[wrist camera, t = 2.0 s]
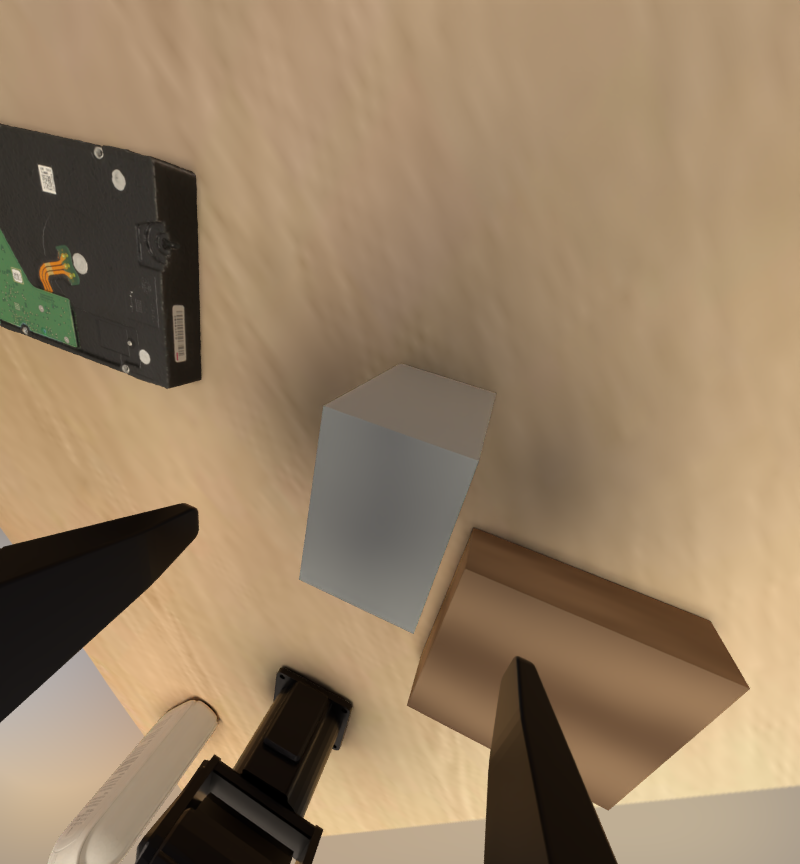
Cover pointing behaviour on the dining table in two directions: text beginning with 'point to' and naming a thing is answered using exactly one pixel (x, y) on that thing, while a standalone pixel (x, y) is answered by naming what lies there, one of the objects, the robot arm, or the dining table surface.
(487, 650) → the stand
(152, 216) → the disk drive
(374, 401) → the block
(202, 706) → the photo printer
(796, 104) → the dining table surface
